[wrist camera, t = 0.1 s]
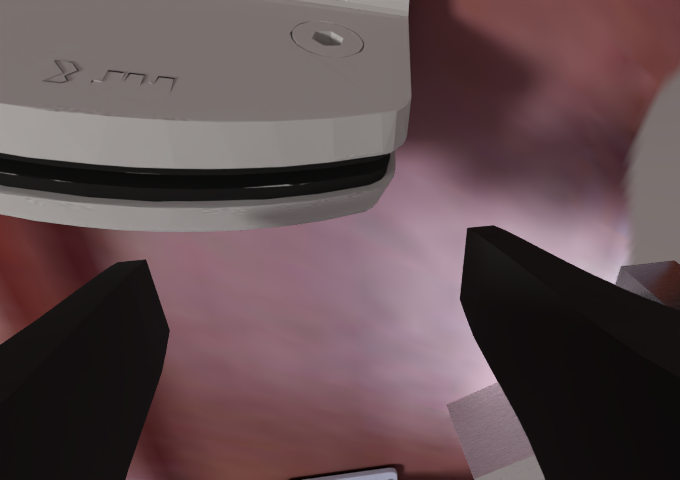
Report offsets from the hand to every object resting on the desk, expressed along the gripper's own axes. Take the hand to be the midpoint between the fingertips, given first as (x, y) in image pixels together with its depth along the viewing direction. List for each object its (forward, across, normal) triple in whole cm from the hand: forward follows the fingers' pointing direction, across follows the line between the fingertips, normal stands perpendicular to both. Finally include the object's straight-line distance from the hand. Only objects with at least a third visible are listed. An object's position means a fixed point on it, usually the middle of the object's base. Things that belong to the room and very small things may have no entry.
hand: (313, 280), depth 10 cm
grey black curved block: (+10, +4, -4) cm, 12 cm away
